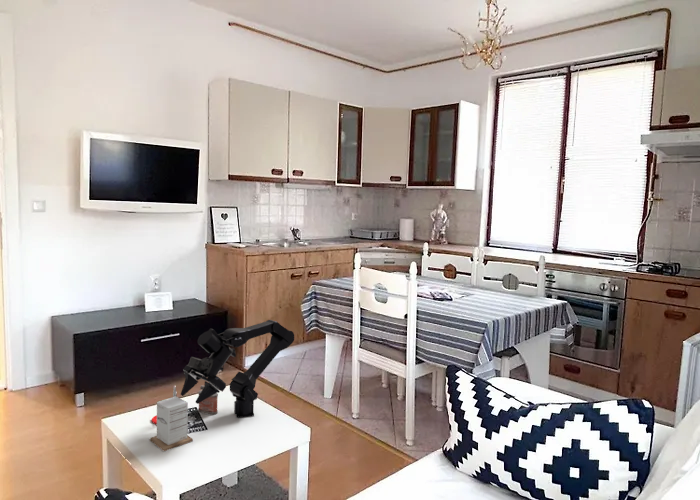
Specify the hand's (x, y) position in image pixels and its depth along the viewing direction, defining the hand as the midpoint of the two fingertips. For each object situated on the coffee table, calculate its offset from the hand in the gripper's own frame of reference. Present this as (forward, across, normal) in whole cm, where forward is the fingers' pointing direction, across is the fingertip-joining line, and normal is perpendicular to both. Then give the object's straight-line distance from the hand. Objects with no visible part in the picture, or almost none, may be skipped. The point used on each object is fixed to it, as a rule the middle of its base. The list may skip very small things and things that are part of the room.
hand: (188, 399), depth 169 cm
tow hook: (+9, -16, +9) cm, 20 cm away
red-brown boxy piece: (-1, -11, +20) cm, 22 cm away
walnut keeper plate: (+13, 0, +4) cm, 14 cm away
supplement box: (+13, 0, +4) cm, 13 cm away
